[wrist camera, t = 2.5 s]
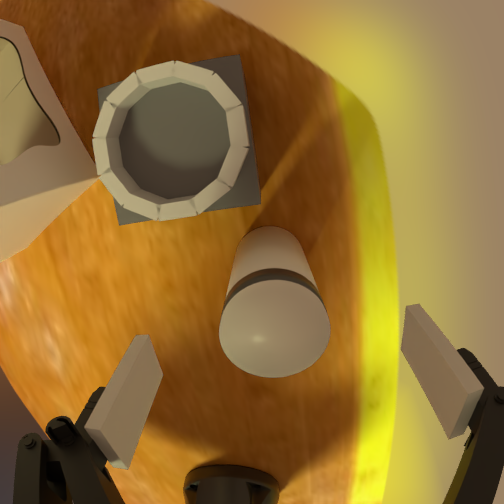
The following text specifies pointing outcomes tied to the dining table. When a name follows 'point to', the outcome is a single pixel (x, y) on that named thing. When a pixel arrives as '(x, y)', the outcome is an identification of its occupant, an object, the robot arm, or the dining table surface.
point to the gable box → (34, 147)
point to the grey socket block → (177, 141)
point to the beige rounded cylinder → (272, 307)
